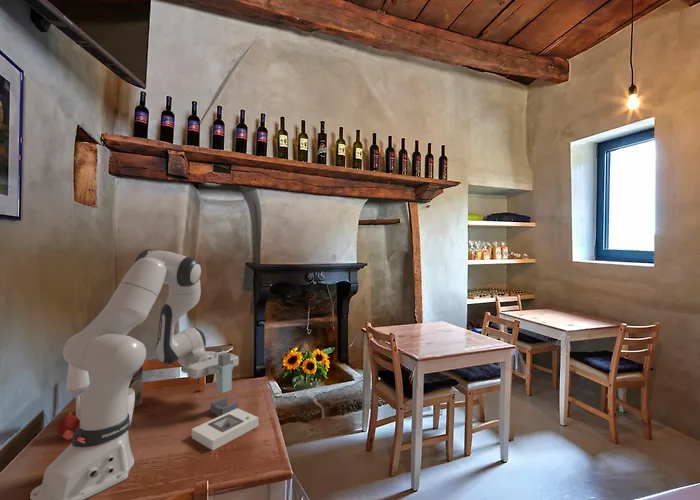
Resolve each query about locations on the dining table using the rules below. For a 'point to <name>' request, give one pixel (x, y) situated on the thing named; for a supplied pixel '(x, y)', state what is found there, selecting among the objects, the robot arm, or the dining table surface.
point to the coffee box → (137, 386)
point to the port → (224, 428)
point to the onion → (68, 424)
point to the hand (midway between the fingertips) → (225, 369)
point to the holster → (217, 406)
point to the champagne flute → (77, 384)
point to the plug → (224, 373)
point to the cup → (131, 403)
